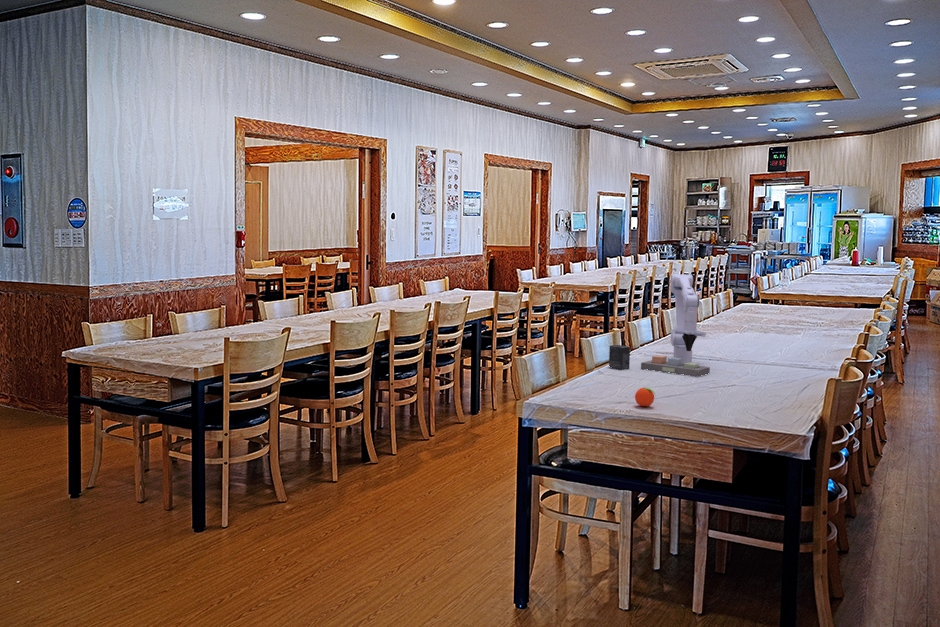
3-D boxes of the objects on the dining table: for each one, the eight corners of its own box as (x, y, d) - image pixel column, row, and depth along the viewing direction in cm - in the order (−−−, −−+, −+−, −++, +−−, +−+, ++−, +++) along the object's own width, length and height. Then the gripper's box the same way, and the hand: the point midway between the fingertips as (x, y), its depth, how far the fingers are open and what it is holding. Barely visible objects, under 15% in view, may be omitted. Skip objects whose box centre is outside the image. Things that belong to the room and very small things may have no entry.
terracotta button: (656, 364, 386) (657, 355, 386) (666, 365, 383) (666, 356, 382) (651, 365, 382) (652, 356, 382) (661, 366, 379) (661, 357, 379)
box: (629, 369, 382) (630, 346, 380) (621, 370, 378) (622, 347, 377) (616, 366, 388) (617, 344, 386) (608, 367, 384) (609, 345, 383)
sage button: (688, 371, 376) (689, 362, 375) (698, 372, 373) (698, 363, 372) (683, 372, 372) (684, 363, 372) (693, 374, 369) (694, 364, 369)
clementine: (660, 407, 300) (660, 387, 300) (650, 410, 295) (651, 390, 295) (640, 403, 306) (641, 384, 305) (630, 406, 301) (631, 387, 300)
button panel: (653, 366, 391) (653, 359, 391) (709, 373, 373) (709, 367, 373) (640, 369, 382) (640, 362, 382) (697, 377, 364) (697, 370, 363)
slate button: (672, 366, 381) (673, 357, 380) (682, 367, 378) (682, 358, 377) (667, 367, 377) (668, 358, 377) (677, 368, 374) (677, 359, 374)
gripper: (671, 320, 378) (670, 349, 379) (701, 323, 369) (699, 353, 370) (678, 319, 383) (677, 348, 385) (708, 322, 374) (706, 351, 375)
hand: (688, 350), depth 378 cm, fingers closed
